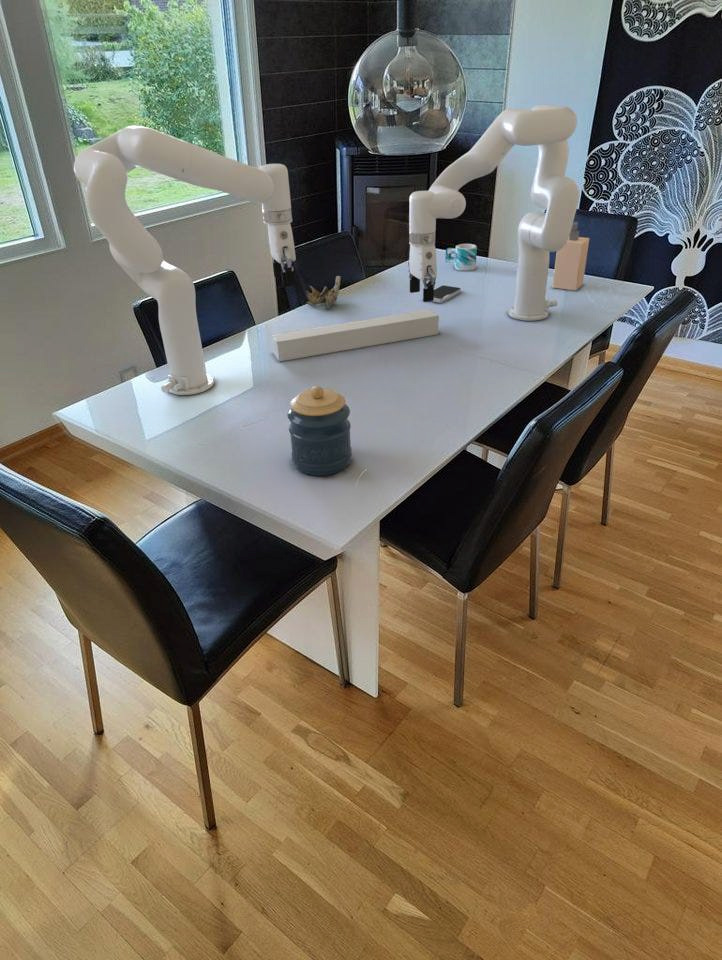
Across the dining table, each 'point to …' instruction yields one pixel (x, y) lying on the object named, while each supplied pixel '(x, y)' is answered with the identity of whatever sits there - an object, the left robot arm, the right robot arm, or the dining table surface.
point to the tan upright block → (571, 262)
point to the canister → (320, 432)
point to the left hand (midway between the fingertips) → (284, 281)
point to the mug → (463, 256)
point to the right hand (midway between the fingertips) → (421, 296)
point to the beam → (354, 334)
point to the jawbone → (324, 295)
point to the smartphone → (445, 293)
